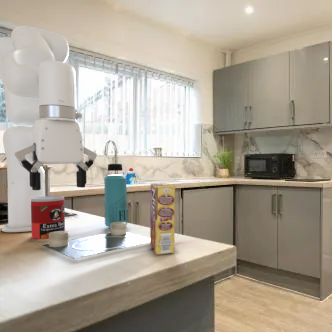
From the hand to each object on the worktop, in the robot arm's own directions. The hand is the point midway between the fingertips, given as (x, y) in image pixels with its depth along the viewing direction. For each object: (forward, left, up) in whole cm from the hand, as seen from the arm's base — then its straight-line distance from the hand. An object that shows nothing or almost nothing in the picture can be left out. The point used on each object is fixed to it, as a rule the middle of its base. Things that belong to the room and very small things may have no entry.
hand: (59, 188), depth 77 cm
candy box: (+20, +14, -14) cm, 28 cm away
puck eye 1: (-1, 0, -13) cm, 13 cm away
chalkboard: (+5, +7, -14) cm, 17 cm away
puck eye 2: (-1, +15, -13) cm, 20 cm away
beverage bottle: (-10, +19, -14) cm, 26 cm away
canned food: (-14, +2, -14) cm, 20 cm away
